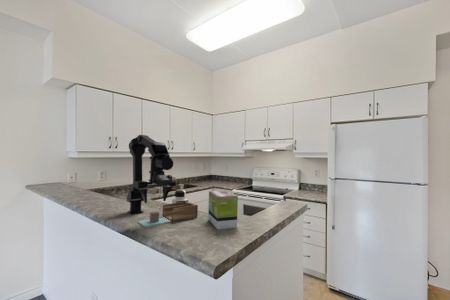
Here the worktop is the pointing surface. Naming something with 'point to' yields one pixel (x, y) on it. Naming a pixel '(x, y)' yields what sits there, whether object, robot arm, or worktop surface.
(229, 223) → the tea box
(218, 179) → the worktop surface
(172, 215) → the box
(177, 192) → the medicine bottle
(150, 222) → the cover plate
